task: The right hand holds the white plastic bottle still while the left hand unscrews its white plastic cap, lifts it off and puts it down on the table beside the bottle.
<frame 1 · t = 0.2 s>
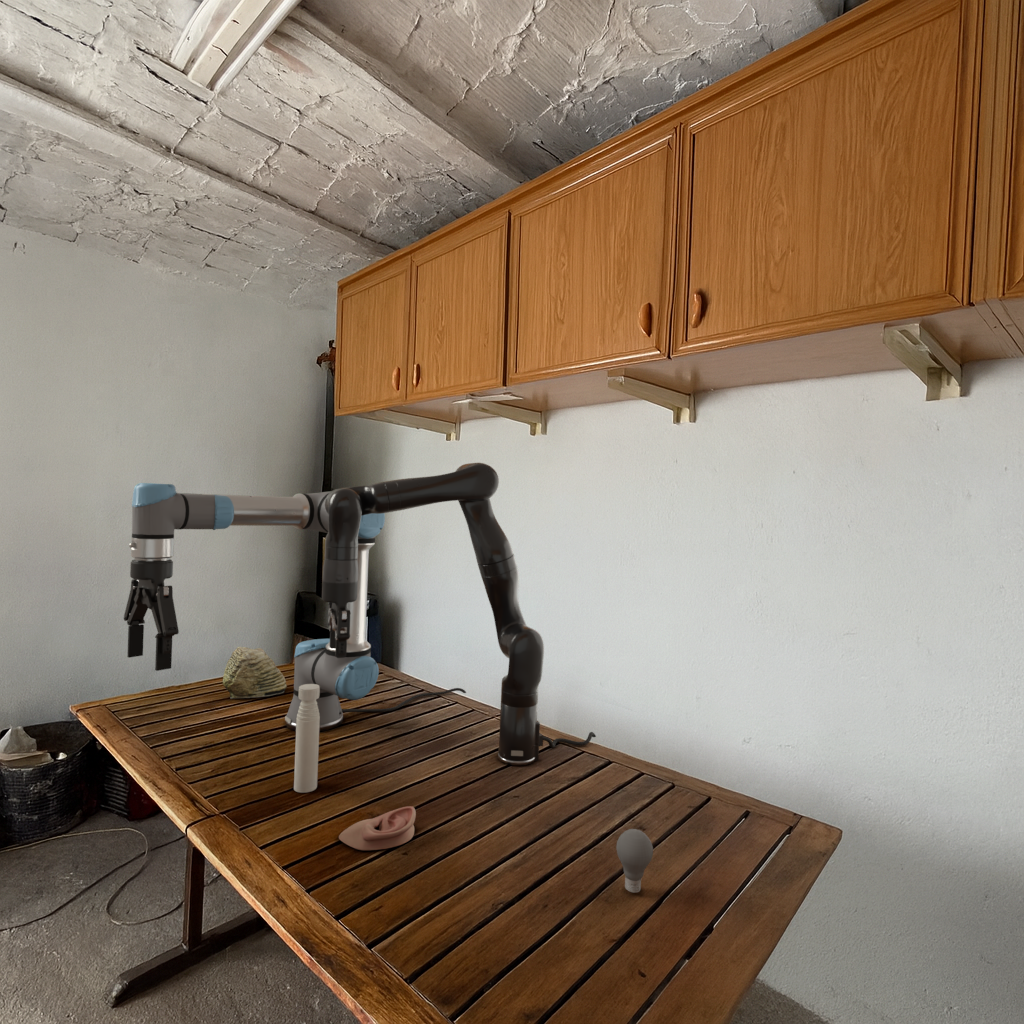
left hand: (148, 662, 129), 28 cm above the table, tool pointing down, fingers open, 13 cm apart
right hand: (337, 652, 139), 29 cm above the table, tool pointing down, fingers open, 8 cm apart
bottle: (305, 787, 138), on the table
light bulb: (632, 891, 106), on the table
anatomical model: (377, 836, 119), on the table
cap: (309, 688, 137), point 22 cm above the table, screwed on, not yet turned
fossil: (254, 694, 198), on the table
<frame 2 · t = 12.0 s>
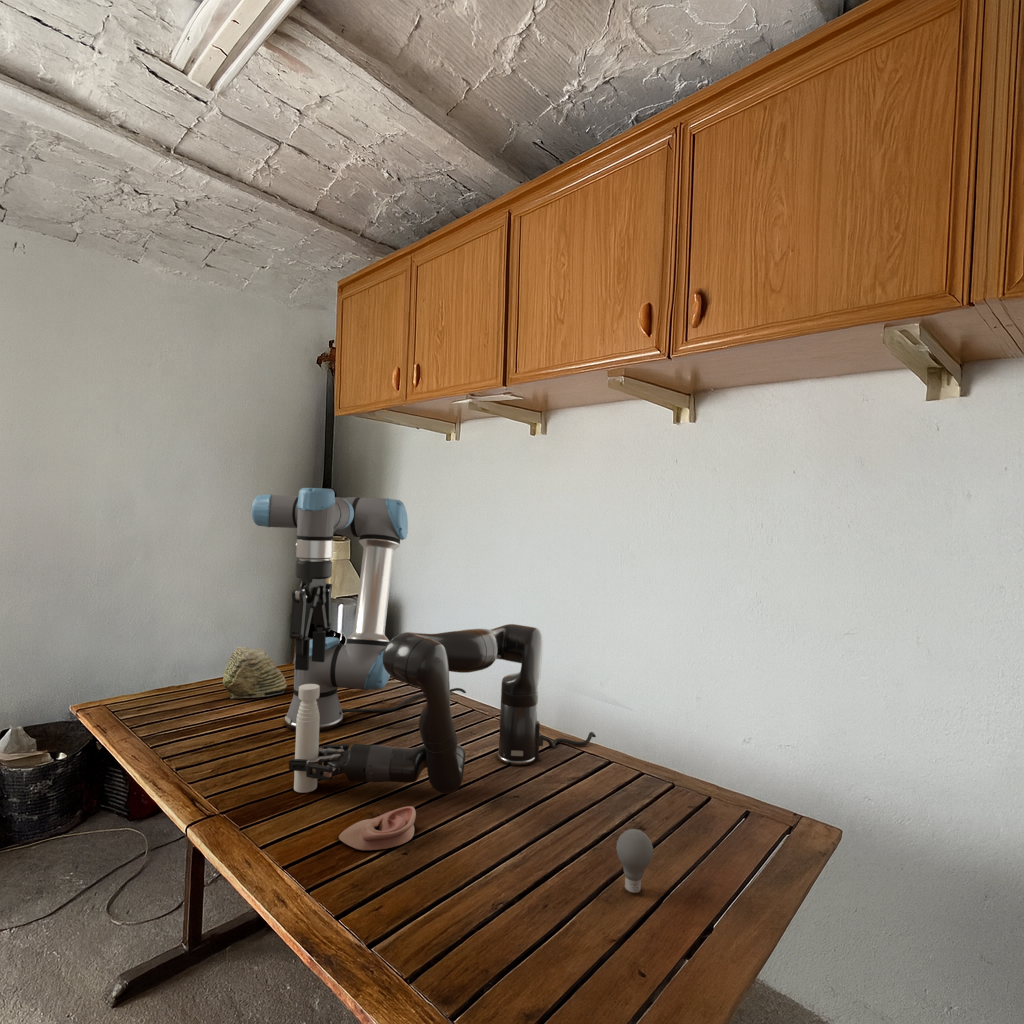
left hand: (310, 665, 137), 27 cm above the table, tool pointing down, fingers open, 6 cm apart
right hand: (294, 759, 137), 6 cm above the table, tool horizontal, fingers closed on bottle, 5 cm apart
bottle: (305, 787, 138), on the table, touching right hand
everything else where it was.
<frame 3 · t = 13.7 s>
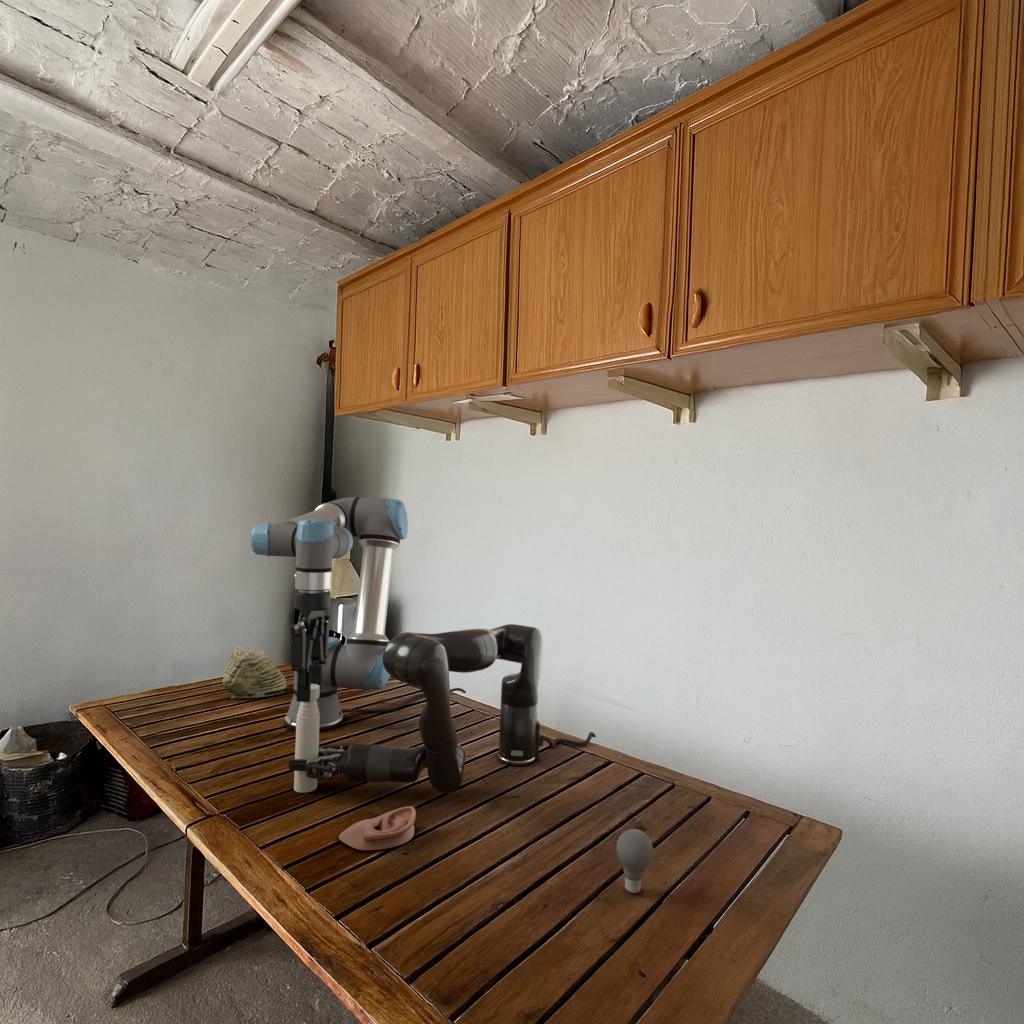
left hand: (308, 697, 137), 20 cm above the table, tool pointing down, fingers closed on cap, 4 cm apart
right hand: (294, 759, 137), 6 cm above the table, tool horizontal, fingers closed on bottle, 5 cm apart
bottle: (305, 787, 138), on the table, touching right hand
cap: (309, 688, 137), point 22 cm above the table, screwed on, not yet turned, touching left hand
everything else where it was.
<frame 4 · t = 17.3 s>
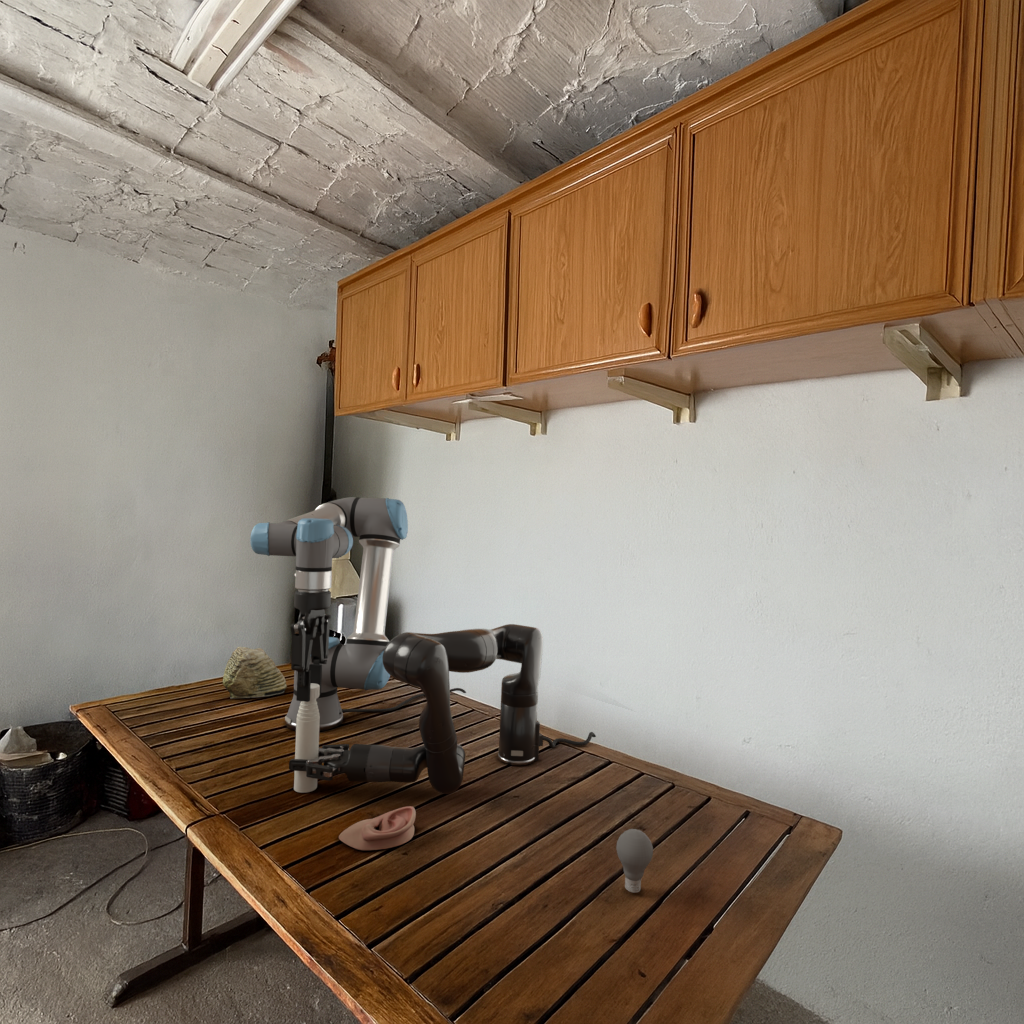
left hand: (308, 697, 137), 20 cm above the table, tool pointing down, fingers closed on cap, 4 cm apart
right hand: (294, 759, 137), 6 cm above the table, tool horizontal, fingers closed on bottle, 5 cm apart
bottle: (305, 787, 138), on the table, touching right hand
cap: (309, 687, 137), point 22 cm above the table, turned 124° so far, risen 0.1 cm, still on its thread, touching left hand
everything else where it was.
when the left hand's fingers open (1 cm above the table, at t = 32.0 s): cap stays where it is, point 2 cm above the table.
when the right hand's fingers open (6 cm above the table, at t = 33.3 s): bottle stays where it is, on the table.
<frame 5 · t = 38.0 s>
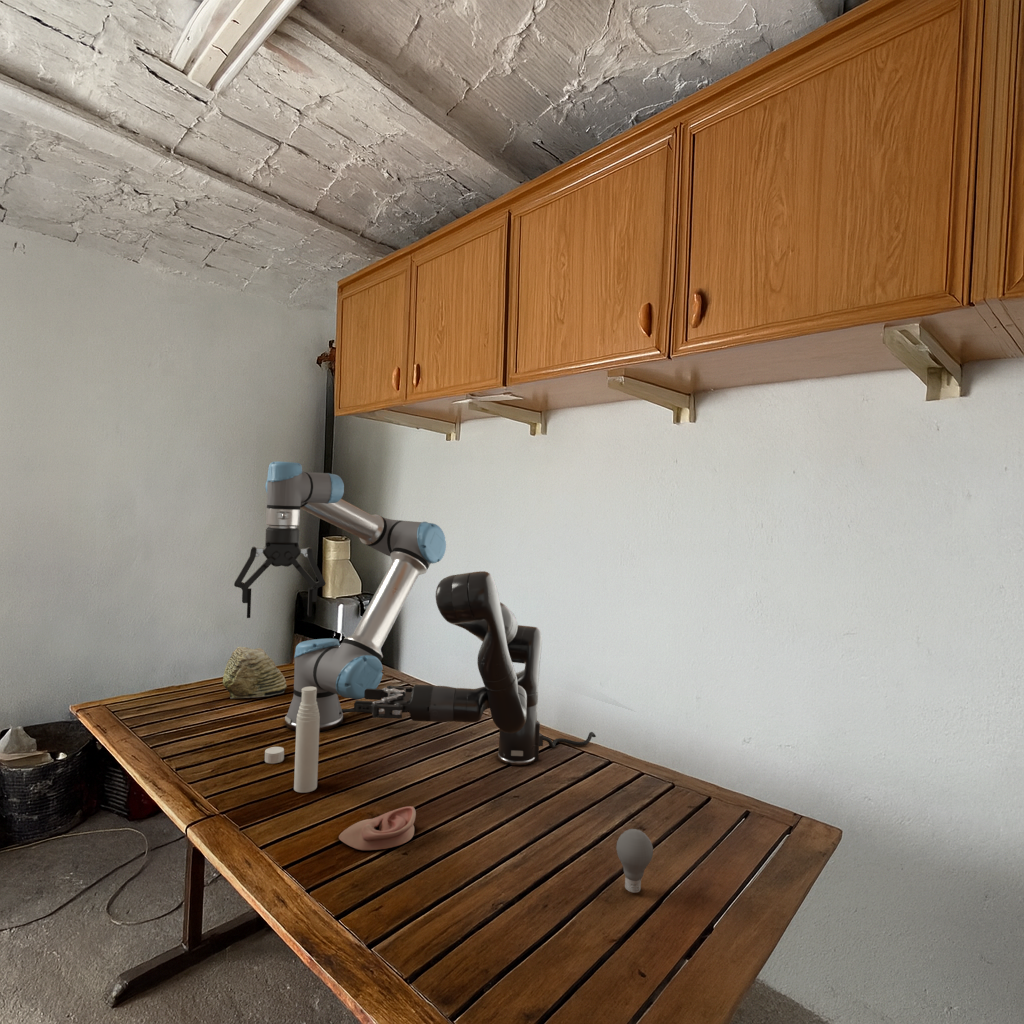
left hand: (279, 616, 150), 34 cm above the table, tool pointing down, fingers open, 13 cm apart
right hand: (359, 699, 137), 20 cm above the table, tool horizontal, fingers open, 8 cm apart
bottle: (305, 787, 138), on the table
cap: (274, 751, 151), point 2 cm above the table, off its thread
everything else where it was.
at the end: cap came off its thread; cap point 2.1 cm above the table; the left hand is holding nothing; the right hand is holding nothing; bottle tilted 0°; bottle moved 0.0 cm from its start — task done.
